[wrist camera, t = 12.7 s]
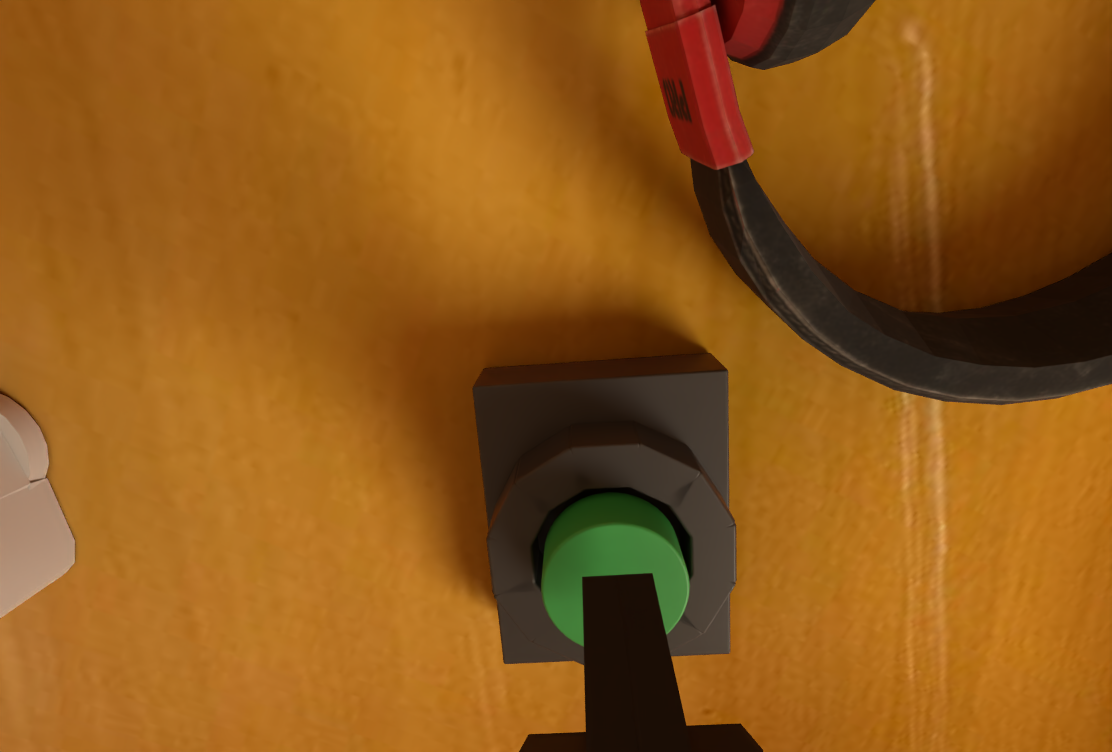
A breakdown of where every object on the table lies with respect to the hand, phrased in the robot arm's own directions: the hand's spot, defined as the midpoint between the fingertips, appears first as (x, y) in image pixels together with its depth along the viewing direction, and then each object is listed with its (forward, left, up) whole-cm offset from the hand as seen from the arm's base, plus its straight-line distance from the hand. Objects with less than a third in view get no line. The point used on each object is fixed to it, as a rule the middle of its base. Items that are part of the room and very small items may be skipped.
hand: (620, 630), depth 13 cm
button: (0, 0, -3) cm, 3 cm away
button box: (0, 0, -7) cm, 7 cm away
